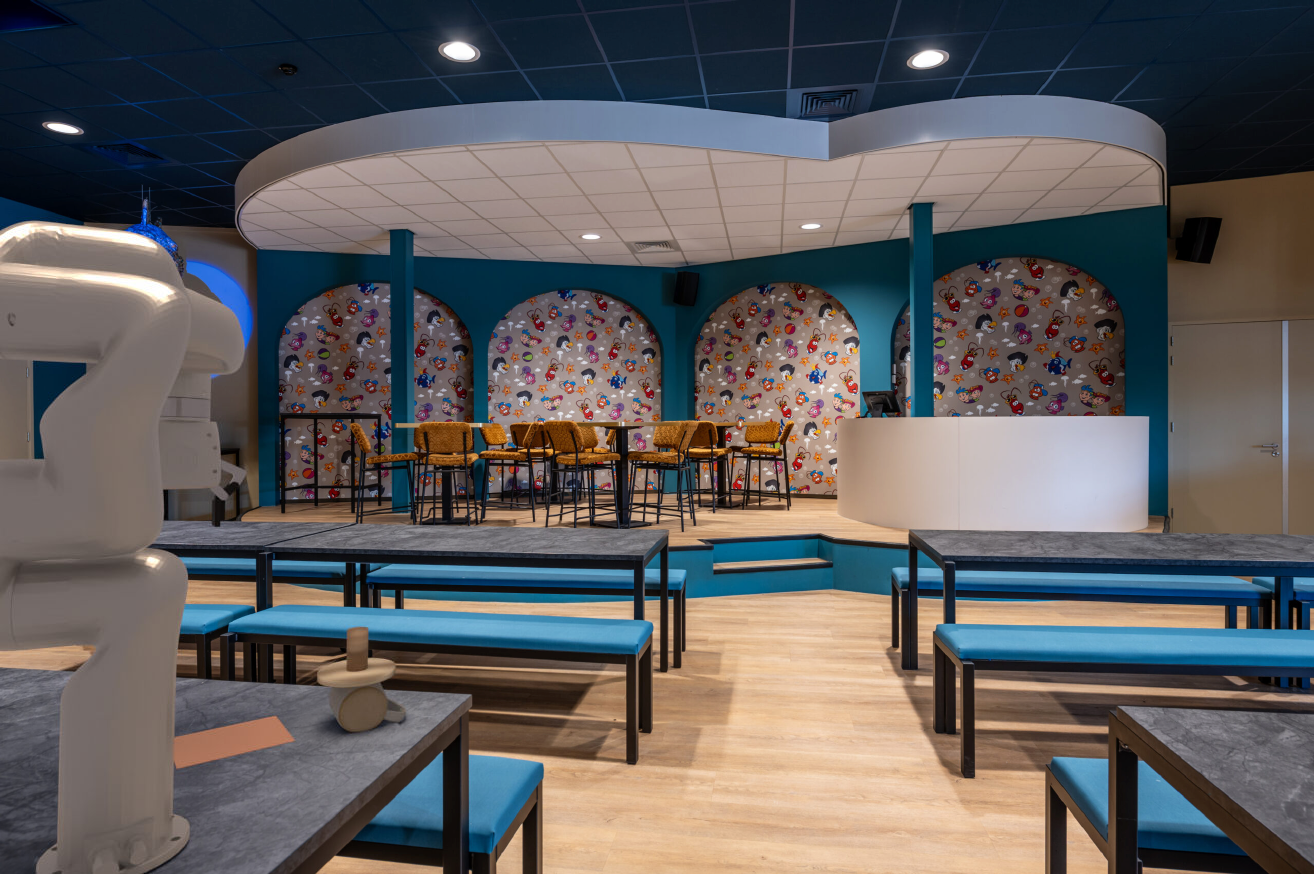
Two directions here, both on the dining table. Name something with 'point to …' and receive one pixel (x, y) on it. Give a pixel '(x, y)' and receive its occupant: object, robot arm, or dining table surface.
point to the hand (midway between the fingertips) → (177, 528)
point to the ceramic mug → (363, 707)
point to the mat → (229, 741)
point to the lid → (356, 664)
